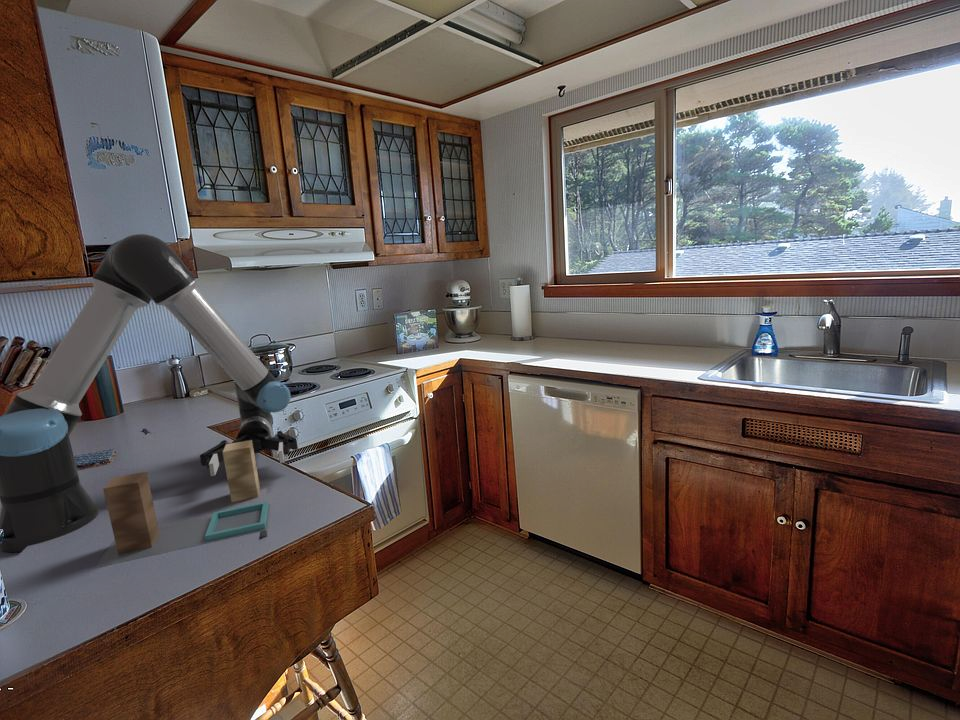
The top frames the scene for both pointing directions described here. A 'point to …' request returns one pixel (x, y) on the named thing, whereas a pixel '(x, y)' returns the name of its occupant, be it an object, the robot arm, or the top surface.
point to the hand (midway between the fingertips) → (247, 463)
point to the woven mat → (94, 459)
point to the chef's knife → (146, 431)
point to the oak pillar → (241, 470)
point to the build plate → (199, 532)
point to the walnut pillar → (131, 512)
